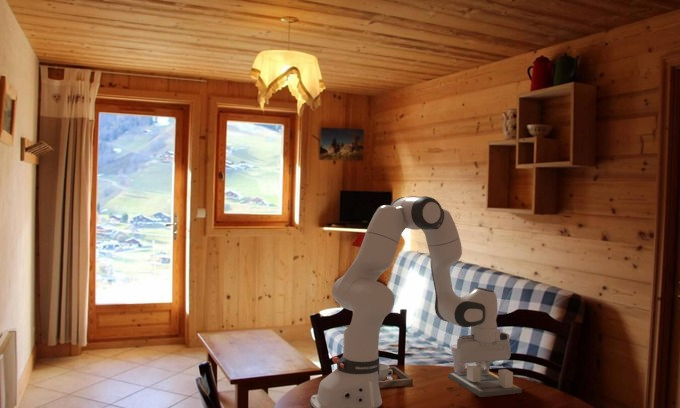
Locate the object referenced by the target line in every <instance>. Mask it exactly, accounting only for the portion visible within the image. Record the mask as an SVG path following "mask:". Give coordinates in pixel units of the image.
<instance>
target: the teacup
mask: <svg viewBox="0 0 680 408" xmlns="http://www.w3.org/2000/svg"><path fill="white" fill-rule="evenodd" d="M389 367H390V365H388V364H385V363H380V369H379V375H378V380H379V381H382V380H384V379H385V378H386V377H387V380H394V378H393V377H392V376H393V374H394V373H393V371H392V370H389ZM390 371H391V372H392V373H389V372H390ZM385 381H386V380H385Z"/></svg>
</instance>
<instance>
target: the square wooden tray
mask: <svg viewBox="0 0 680 408" xmlns="http://www.w3.org/2000/svg"><path fill="white" fill-rule="evenodd" d="M389 370H392V371H393V372H394V373H393V374H395V375H396V376H397V377H398V376H399V378H400V379H398V378H397V379H393V380H386V381H379V389H384V388H392V387H393V388H395V387H405V386H413V384H414V383H413V380H414V379H413V378H412V377H410V376H409V375H408V374H407V373H405V372H404V371H402V370H401V369H399V368H398V367H396V366H389ZM388 374H392V372H391V371H390V372H389V373H388Z"/></svg>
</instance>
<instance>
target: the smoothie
mask: <svg viewBox="0 0 680 408" xmlns="http://www.w3.org/2000/svg"><path fill="white" fill-rule="evenodd" d="M461 336H462V335H460V334H459V337H458V339H459V338H460V337H461ZM460 339H461V338H460ZM456 350H457V344H453V345H451V351H452V359H453V361H452V362H453V370H454V372H453V373H455V372H466V368H467V363H460V362H458V361H457V359H456Z"/></svg>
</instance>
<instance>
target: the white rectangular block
mask: <svg viewBox="0 0 680 408" xmlns="http://www.w3.org/2000/svg"><path fill="white" fill-rule="evenodd" d="M466 371H467V379H468V380H470V381H472V382H480V378H481V367H480V366H478V365H476V363H466Z"/></svg>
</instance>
